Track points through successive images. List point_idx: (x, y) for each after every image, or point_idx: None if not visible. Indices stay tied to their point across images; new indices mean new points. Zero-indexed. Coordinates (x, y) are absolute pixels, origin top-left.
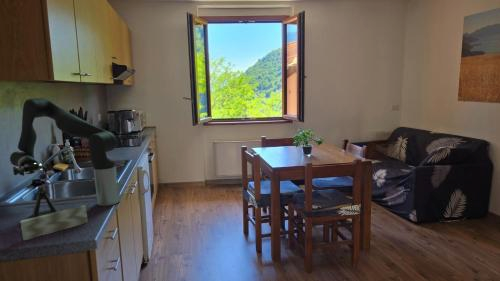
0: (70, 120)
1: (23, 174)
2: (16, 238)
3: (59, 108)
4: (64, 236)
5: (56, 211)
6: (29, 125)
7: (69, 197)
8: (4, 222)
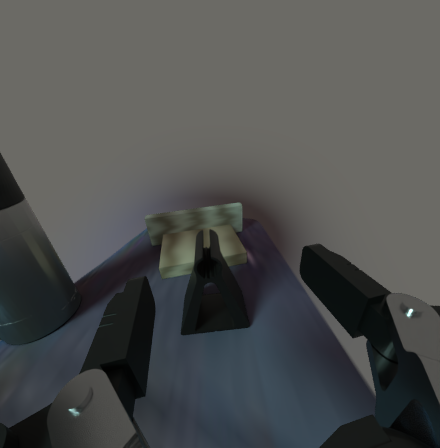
0: None
1: (303, 265)
2: (252, 234)
3: None
4: None
5: (185, 295)
6: None
7: None
8: (312, 301)
